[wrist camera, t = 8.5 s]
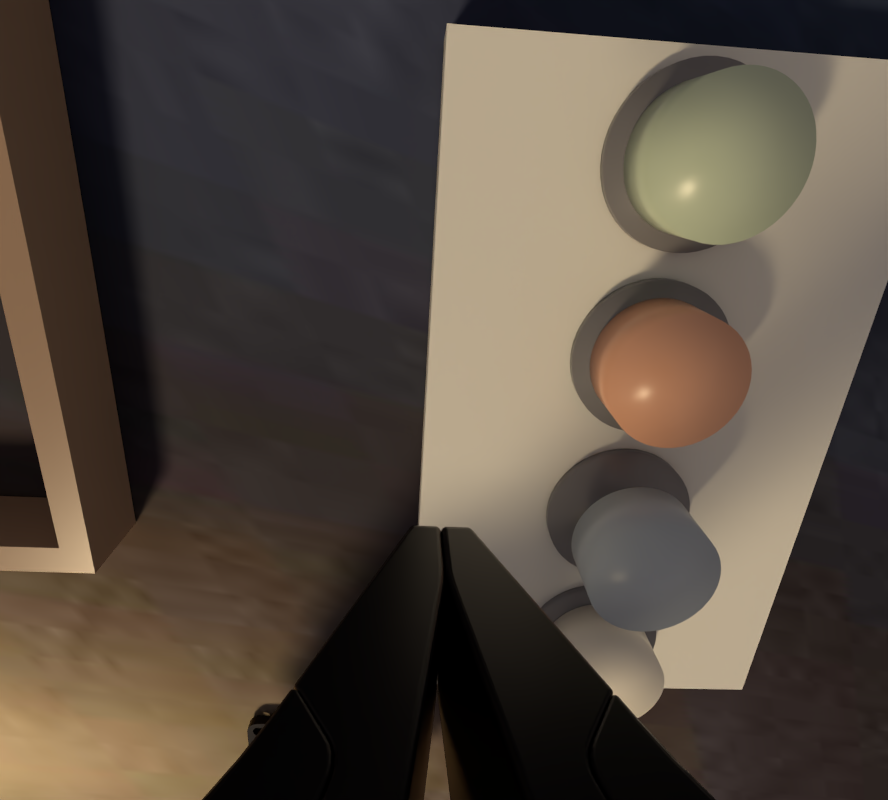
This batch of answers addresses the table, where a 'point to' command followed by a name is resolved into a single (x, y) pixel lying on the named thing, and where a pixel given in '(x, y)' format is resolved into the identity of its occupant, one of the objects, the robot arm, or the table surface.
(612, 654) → the ivory button
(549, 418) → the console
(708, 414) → the terracotta button
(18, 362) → the planter tray
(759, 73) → the sage button
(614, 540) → the slate button
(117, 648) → the table surface
